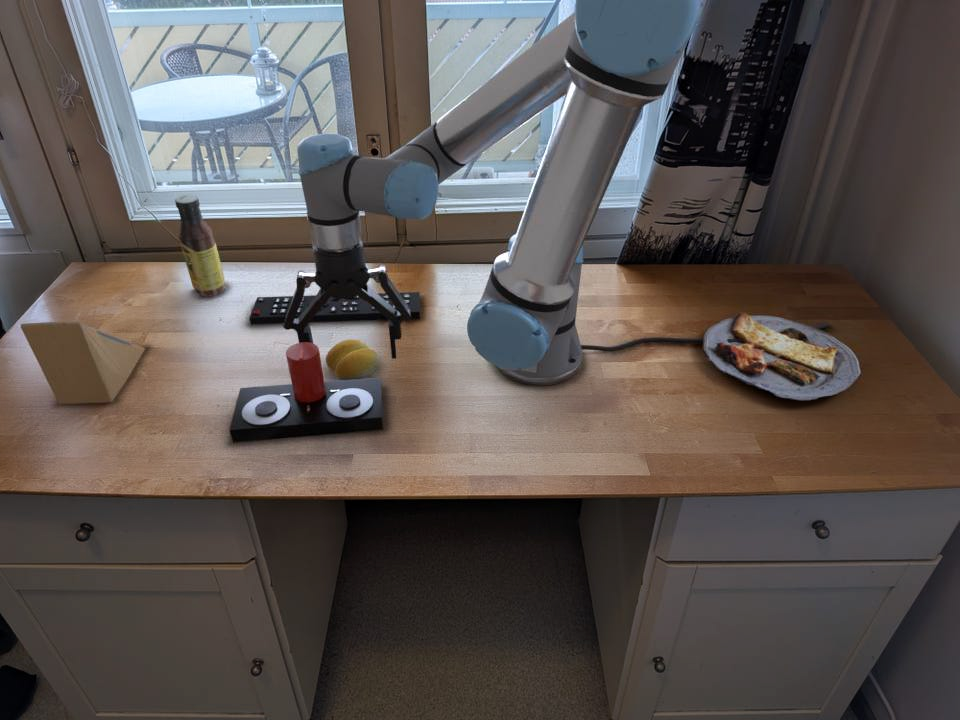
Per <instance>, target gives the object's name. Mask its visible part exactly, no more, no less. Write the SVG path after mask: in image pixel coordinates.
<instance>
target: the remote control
mask: <svg viewBox="0 0 960 720" xmlns="http://www.w3.org/2000/svg"><path fill="white" fill-rule="evenodd" d="M376 293H377V292H376ZM377 294H378V295H379V296H380V297H382V298H383V299H384V300H385V301H386V302H387V303H389V304H390V305H391V306H392V307H393V308H394V309H396V307H395V306H394V304H393V303H392V301H391V300H390V299H389V297H388V296H387V294H386V293H385V292H379V293H377ZM399 294H400V295H401V297H402V298H403V299H404V301H405V302H406V304H407V305H408V307H409V308H410V314H411V319H410V320H421V292H420V291H411V292H410V291H409V292H408V291H407V292H399ZM316 295H317V294H316ZM316 295H315V294H314V295H304V296H303V298H302V301H301V303H300V306H299V309H298V311H297V314H296V317H295V319H297V318H298V317H300V316H301V314H302V313H303V312H304V310H305V309H306V308H307V307H308V305H309V304H310V303H311V301H312V300H313V299H314V297H315V296H316ZM293 296H294V295H286V296H285V295H283V296H257V297H256V300H255V302H254V304H253V307H252V309H251V311H250V315H249V322H250V326H253V325H255V326H257V325H284V321H285V317H286V314H287V312H288V309H289V306H290V304H291V301H292V298H293ZM396 310H397V309H396ZM397 311H398V310H397ZM368 321H371V322H373V321H388V319H387V318H386V317H385V316H384V315H382V314H381V313H380V312H379V311H378V310H376V309H375V308H374V307H373V306H372V305H371V304H369V303H368V302H367V301H364V300H363V299H361V298H360V297H359V296H356V297H355V299H348V298H343V299H340V300H335V299H334V298H331V297H330V298H329V299H328V301H327V302H326V303H325V304H323V306H322V307H321V308H320V310H319V311H318V312H317V313H316V315H315V316H314V317H313V319H312V320H311V321H310V322H309V324H312V323H314V324H315V323H339V322H368Z"/></svg>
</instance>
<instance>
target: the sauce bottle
mask: <svg viewBox="0 0 960 720" xmlns="http://www.w3.org/2000/svg"><path fill="white" fill-rule="evenodd" d="M174 203H175V207H176V208H177V211H178V214H179V218H180V230H179V236H178V237H179V238H178V240H179V243H180V247H181V251H182V254H183V258H184V262H185V265H186V268H187V271H188V275H189V279H190V282H191V285H192V288H193V290H194V292H195V293H196V294H197V295H198V296H200V297H212V296H217V295H219V294H221V293H223V292H224V290H225V289H226V280H225V279H226V278H225V274H224V271H223V266H222V263H221V262H222V261H221V257H220V255H219V250H218V246H217V243H216V240H215V238H214V237H215V236H214V232H213V230H212V227H211V226H210V224H208V223H207V222H206V221H205V220H204V219H203V215H202V212H201V209H200V200H199V197H198V196H197V195H196V194H183V195H179V196H178V197H176V198H175V199H174Z"/></svg>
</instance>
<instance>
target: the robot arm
mask: <svg viewBox="0 0 960 720" xmlns="http://www.w3.org/2000/svg"><path fill="white" fill-rule="evenodd" d="M708 2H709V0H575V4H574V12H573V13H571V14H570V15H569V16H567V17H566V18H565V19H563V20H562V21H561V22H560V23H559V24H557V25H556V26H555V27H554V28H552V29H551V30H550V31H548V32H547V33H546V34H545V35H544V36H543V37H541V38H540V39H539V40H537V41H536V42H535V43H534V44H532V45H531V46H530V47H528V48H527V49H525V51H524V52H522V53H521V54H520V55H519V56H517V57H516V58H514V59H513V60H512V61H511V62H509V63H507V65H506V66H505V67H503V68H501V70H499V71H498V72H497V73H496V74H495V75H493V76H492V77H491V78H489V79H488V80H487V81H485V82H484V83H483V84H481V86H479V87H478V88H476V89H475V90H474V91H473V92H471V93H470V94H469V95H468V96H467V97H466V98H464V99H463V100H461V101H460V102H459V103H458V104H457V105H455V106H454V107H453V108H451V109H450V110H449V111H448V112H446V113H445V114H444V115H443V116H441V117H440V118H439V119H438V120H437V121H435V122H434V123H432V124H431V125H430V126H428V127H427V128H426V129H425V130H423V131H422V132H421V133H419V134H418V135H417V136H416V137H414V138H412V140H410V141H409V142H407V143H406V144H404V145H403V146H401V147H400V148H398V149H397V150H395V151H394V152H392V153H391V154H389V155H388V156H387V157H370V156H364V155H359V154H354V149H353V147H352V146H353V145H352V142H351V140H350V138H349V137H347V136H345V135H342V134H339V133H318V134H313V135H310V136H307V137H305V138H303V139H302V140H300V142H299V143H298V145H297V149H296V150H297V161H298V169H299V171H298V175H299V178H300V182H301V183H300V184H301V187H302V192H303V197H304V202H305V206H306V215H307V224H308V228H309V229H308V230H309V236H310V237H309V238H310V242H311V244H312V253H313V261H314V267H315V273H307V272H306V271H305V270H303V269H300V270H298V272H297V274H296V280H295V281H296V288H295V290H294V293H293V295H292V296H293V298H292V301H291V304H290V306H289V309H288V312H287V314H286V317H285V321H284V324H283V328H284V330H287V331H290V330H294V331H295V332H296V334H297V340H298V343H302V342H309V343H313V344H314V340H313V333H312V329H311V323H309V322H310V321H311V320H312V319H313V317H314V316H315V315H316V313H317V312H318V311H319V310H320V308H321V307H322V306H323V304H325V303H326V302H327V301H328V299H329V298H330V297H331V298H334V299H335V300H340V299H343V298H348V299H355V297H356V296H359V297H360V298H361V299H363V300H364V301H367V302H368V303H369V304H371V305H372V306H373V307H374V308H375V309H376V310H378V311H379V312H380V313H381V314H382V315H384V316H385V317H386V318H387V319H388V320H387V321H388V333H389V345H390V352H391V359H392V360H396V359H397V346H396V341H398V340H401V339H402V325H401V324H402V323H403V322H404V321H407V322H409V321H410V320H412V319H411V314H410V308H409V307H408V305H407V304H406V302H405V301H404V299H403V298H402V297H401V295H400V294H399V293H400V291H398V289H397V287H396V286H395V285H394V283H393V282H392V280H391V278H389V275H388V272H387V267H386V265H385V264H380V265H379V266H378V267H377V268H371V269H369V268H368V267H367V266H366V257H365V251H364V249H365V248H364V243H363V241H362V239H363V233H362V225H361V223H362V222H361V216H360V212H362V213H368V214H375V215H381V216H385V217H391V218H396V219H398V220H401V219H402V220H408V219H409V220H419V221H421V220H425V219H426V218H428V217H429V216H430V215H431V214H432V213H433V211H434V207H435V206H436V204H437V201H438V195H439V185H441V184H442V183H443V182H445V181H446V180H447V179H449V178H450V177H451V176H453V175H454V174H456V173H457V172H458V171H460V170H462V169H463V168H464V167H466V165H468V164H469V163H470V162H472V161H474V159H477V158H478V157H479V156H481V155H482V154H483V153H485V152H487V150H489V149H490V148H492V147H493V146H495V145H497V144H498V143H500V142H501V141H503V139H505V138H506V137H508V136H509V135H511V134H513V132H515V131H516V130H517V129H519V128H520V127H522V126H523V125H524V124H526V123H528V122H529V121H531V120H532V119H533V118H535V117H536V116H538V115H539V114H541V113H542V112H543V111H545V110H546V109H547V108H549V107H550V106H552V105H553V104H555V103H556V102H558V101H559V100H560V99H562V98H563V101H562V104H561V106H560V110H559V112H558V115H557V117H556V121H555V124H554V126H553V128H552V132H551V134H550V138H549V140H548V143H547V146H546V148H545V152H544V155H543V157H542V160H541V163H540V166H539V168H538V171H537V174H536V177H535V179H534V182H533V185H532V188H531V191H530V194H529V196H528V199H527V202H526V205H525V208H524V209H523V214H522V217H521V218H520V222H519V225H518V227H517V230H516V233H515V234H513V235H512V236H511V237H510V238H509V240H508V247H507V248H506V252H504V253H501V254H500V255H498V256H497V257H496V258H495V260H494V261H493V264H492V267H491V270H490V273H489V275H488V279H487V282H486V284H485V287H484V290H483V293H482V295H481V298H480V300H479V302H478V303H477V304H476V305H475V306H474V307H473V308H472V309H471V311H470V314H469V317H468V320H467V323H466V332H467V337H468V340H469V342H470V344H471V345H472V346H474V348H475V351H476V352H477V354H479V355H480V356H481V357H482V358H483V359H484V360H485V361H487V362H488V363H490V364H492V365H494V366H495V367H496V368H497V369H498V371H499V372H501V374H503V375H504V376H506V377H507V378H509V379H511V380H513V381H516V382H519V383H522V384H526V385H531V386H532V385H533V386H548V385H549V386H551V385H555V384H561V383H563V382H566V381H569V380H570V379H572V378H573V377H575V375H577V374H578V373H579V371H580V370H581V367H582V363H583V362H582V361H583V350H587V351H600V352H615V351H620V350H624V349H627V348H630V347H632V346H635V345H638V344H643V343H645V344H646V343H657V342H659V343H660V342H661V343H678V344H679V343H681V344H683V343H684V344H685V343H687V344H703V338H689V337H688V338H685V337H663V336H662V337H661V336H659V337H657V336H656V337H643V338H638V339H634V340H630V341H628V342H625V343H623V344H619V345H614V346H603V345H591V344H581V341H580V336H579V334H578V330H577V326H576V318H577V311H578V303H579V302H578V301H579V294H580V293H579V292H580V284H581V274H582V268H583V267H582V266H583V264H584V255H583V254H584V251H583V250H584V249H583V244H584V242H585V240H586V238H587V236H588V233H589V231H590V229H591V226H592V224H593V222H594V220H595V218H596V214H597V212H598V211H599V209H600V205H601V203H602V201H603V200H604V199H603V198H604V197H605V195H606V192H607V190H608V188H609V185H610V183H611V181H612V179H613V176H614V174H615V172H616V170H617V167H618V165H619V163H620V161H621V158H622V156H623V154H624V151H625V149H626V147H627V144H628V142H629V140H630V137H631V135H632V133H633V130H634V128H635V127H636V125H637V122H638V119H639V117H640V115H641V113H642V110H643V108H644V107H645V106H646V105H648V104H651V103H653V102H655V101H658V100H660V99H661V98H663V97H664V95H665V93H666V90H667V89H668V87H669V84H670V82H671V80H672V78H673V75H674V73H675V71H676V69H677V66H678V65H679V62H680V60H681V58H682V56H683V53H684V51H685V49H686V47H687V45H688V42H689V40H690V39H691V37H692V36H693V33H694V32H695V30H696V27H697V25H698V23H699V20H700V19H701V17H702V16H703V14H704V13H705V12H704V11H705V10H706V7H707V6H708V5H707V4H708ZM371 279H373V280H374V282H375V283H377V284H380V286H381V287H380V288H382V290H383V291H384V293H386V294H387V296H388V297H389V299H390V300H391V301H392V303H393V304H394V306H395V307H396V309H397V310H398V311H397V310H396V309H394V308H393V307H392V306H391V305H390V304H389V303H387V302H386V301H385V300H384V299H383V298H382V297H380V296H379V295H378V294H377V291H375V290H374V289H372V287H371V285H369V284H368V282H369V281H370V280H371ZM313 283H315V284H316V286H318V287H319V290H318V292H317V293H316V296H315V297H314V299H313V300H312V301H311V303H310V304H309V305H308V307H307V308H306V309H305V310H304V312H303V313H302V314H301V316H300V317H298V318H297V319H295V317H296V314H297V311H298V309H299V306H300V303H301V301H302V298H303V296H305V291H306V289H308V288H310V287H311V284H313ZM830 326H831V324H830V323H829V322H827V323H823V324H820V325H816V326H813V327H814V328H817V329H819V330H823V329H827V328H830ZM815 330H816V329H815ZM819 330H818V331H819ZM727 341H728V342H729V343H732V342H738V343H741V342H742V340H741V339H727Z"/></svg>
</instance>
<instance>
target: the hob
mask: <svg viewBox="0 0 960 720" xmlns="http://www.w3.org/2000/svg"><path fill="white" fill-rule="evenodd" d="M324 383H325V389H326V393H325V395H324V396H323V397H322V398H321V399H319V400H317V401H315V402H310V403H304V402H300V401H298V400H297V399H296V398H295V396H294V391H293V387H292V383H288V384H275V385H263V386H250V387H249V386H248V387H240V388H239V391H238V395H237V398H236V404H235V407H234V411H233V415H232V418H231V422H230V426H229V430H228V431H229V434H230V437H231V440H232V443H234V444H235V443H245V442H246V443H247V442H259V441H270V440H281V439H282V440H283V439H292V438H293V439H294V438H304V437H316V436H317V437H318V436H326V435H339V434H341V435H342V434H351V433H362V432H374V431H376V432H377V431H384V407H383V402H384V401H383V383H382V377H365V378H362V379H352V380H343V379H341V380H340V379H339V380H328V381H327V380H326V381H324ZM350 388H357V389H362V390H365V391H367V392H368V393H369V394H370V395H371V396H372V398H373V405H372V407H371V409H370V410H369V411H368V412H367V413H365V414H364V415H362V416H359V417H356V418H351V419H342V418H337V417H335V416H333V415H331V414H330V413H329V412H328V410H327V406H326V404H327V401H328V399H329V398H330V397H331V396H332V395H333V394H334V393H336V392H338V391H341V390H344V389H350ZM264 395H279V396H283V397H285V398H286V399H287V400H288V401H289V403H290V411H289V413H288V415H287V416H286V417H285V418H283V419H282V420H281V421H279V422H277V423H274V424H271V425H266V426H255V425H251V424H249V423H247V422H246V421H245V420H244V419H243V417H242V410H243V408H244V407H245V405H246V404H247V403H248V402H250V401H251V400H253V399H255V398H257V397H260V396H264Z"/></svg>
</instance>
